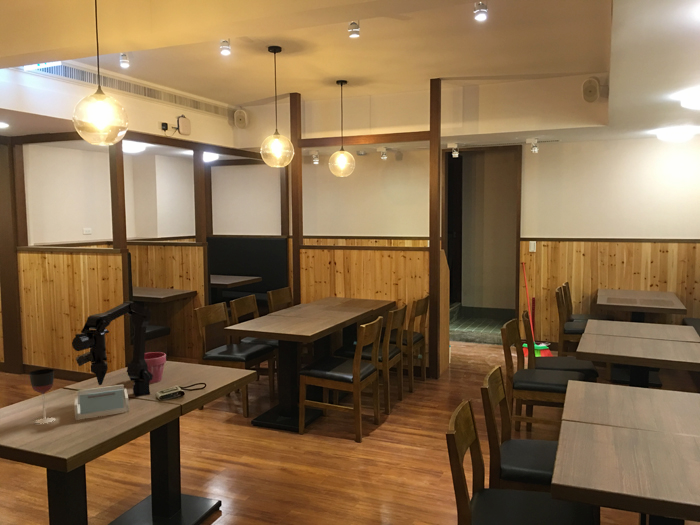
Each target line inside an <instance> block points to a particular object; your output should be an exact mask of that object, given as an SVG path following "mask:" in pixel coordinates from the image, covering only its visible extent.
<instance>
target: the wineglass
mask: <svg viewBox="0 0 700 525" xmlns="http://www.w3.org/2000/svg"><path fill="white" fill-rule="evenodd" d="M28 375H29V380H30V381H29V382H30V385H31V389H32V390H33V391H34V392H36V393H40V394H41V397H42V398H41V400H42V410H43V411H42V413H43V419H42V418H39V419H40V420H39V419H37V420H38V421H37V420H36V421H37V423H40V424H39V425H45V424H44V423H47V424H49V423H48V422H51V423H53V422H55V421H56V418H55V417H51V418H49V417H46V400H45V393H47V392H48V391H50V390H51V389H52V388H53V385H54V381H55V370H54V369H52V368H42V369H36V370H33V371H30V372H29V373H28ZM53 420H54V421H53ZM52 421H53V422H52ZM42 423H43V424H42Z"/></svg>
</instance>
